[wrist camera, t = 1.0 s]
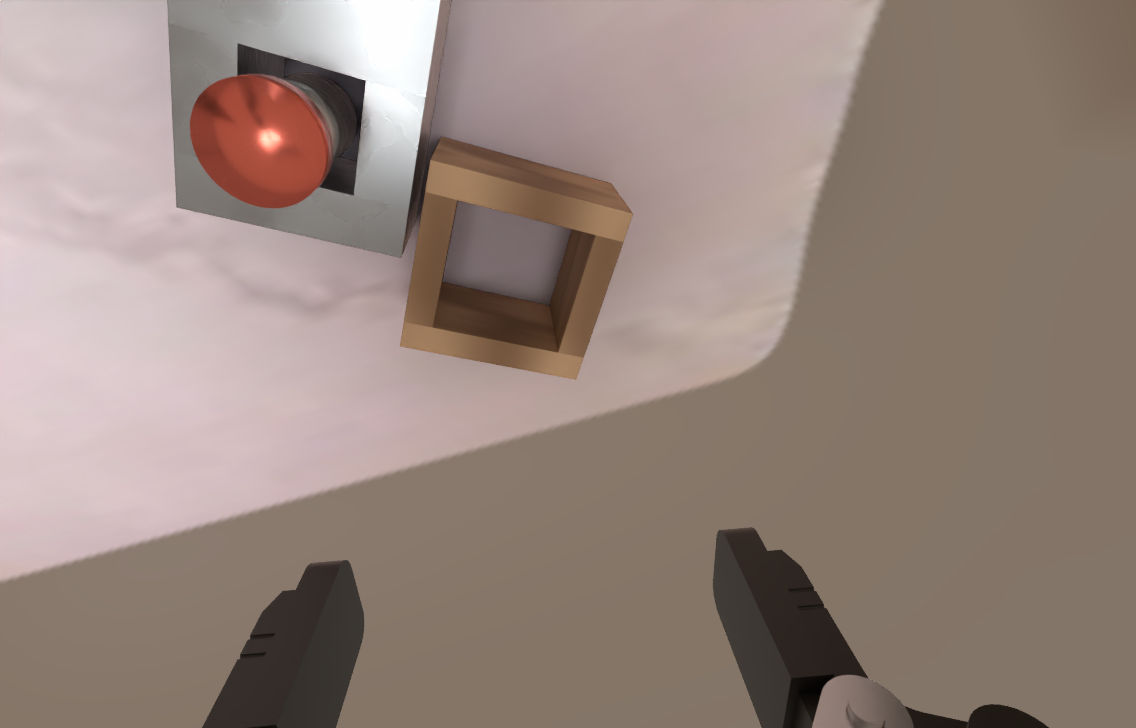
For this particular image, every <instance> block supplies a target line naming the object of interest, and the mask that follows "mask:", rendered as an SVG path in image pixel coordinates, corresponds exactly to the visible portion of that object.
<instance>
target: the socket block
mask: <svg viewBox="0 0 1136 728" xmlns="http://www.w3.org/2000/svg"><path fill="white" fill-rule="evenodd" d="M167 4H168V27H169V49H170V72H171V94H172V117H173V139H174V162H175V184H176V207H177V208H182V209H186V210H191V211H195V212H200V213H204V214H209V215H213V216H217V217H222V218H226V219H231V220H235V221H240V222H244V223H249V224H253V225H257V226H262V227H266V228H271V229H275V230H280V231H284V232H289V233H293V234H298V235H302V236H306V237H311V238H315V239H320V240H324V241H329V242H333V243H338V244H342V245H346V246H351V247H355V248H360V249H364V250H369V251H373V252H378V253H382V254H387V255H391V256H395V257H400V258H401V257H402V254H403V252H404V249H405V247H406V244H407V242H408V239H409V237H410V234H411V232H412V229H413V227H414V225H415V222H416V218H417V212H418V206H419V199H420V193H421V187H422V181H423V174H424V168H425V162H426V156H427V149H428V143H429V137H430V131H431V124H432V118H433V112H434V106H435V100H436V93H437V87H438V81H439V75H440V68H441V62H442V56H443V50H444V43H445V37H446V31H447V25H448V18H449V12H450V6H451V0H167ZM285 57H287V58H290V59H294V60H297V61H300V62H304V63H307V64H311V65H314V66H318V67H321V68H324V69H328V70H331V71H335V72H338V73H342V74H345V75H348V76H352V77H355V78H359V79H362V80H366V84H365V93H364V103H363V113H362V122H361V132H360V141H359V151H358V160H357V161H353V160H349V159H345V158H342V157H337V158H336V159H335V160H333V161H332V165H331V168H330V171H329V173H328V175H327V177H326V179H325V180H324V182H323V183H322V184H321V185H320V186H319V187H318V188H317V189H316V190H315V191H314V192H313V193H312V194H311V195H310V196H308V197H307V198H306V199H304V200H303V201H301V202H299V203H297V204H295V205H292V206H289V207H284V208H263V207H258V206H254V205H251V204H248V203H245V202H243V201H241V200H239V199H237V198H235V197H233V196H232V195H230V194H229V193H227V192H226V191H224V190H223V189H222V188H221V187H220V186H218V185H217V184H216V183H215V182H214V181H213V180H212V179H211V178H210V176H209V175H208V174H207V173H206V171H205V170H204V168H203V167H202V165H201V164H200V162H199V160H198V158H197V156H196V154H195V151H194V148H193V145H192V141H191V136H190V117H191V112H192V109H193V106H194V104H195V102H196V100H197V98H198V97H199V96H200V94H201V93H202V92H203V91H204V90H205V89H206V88H207V87H209V86H210V85H211V84H213V83H215V82H217V81H219V80H222V79H224V78H229V77H234V76H239V75H244V74H253V73H257V74H266V75H271V76H274V77H277V78H281V77H284V75H285Z"/></svg>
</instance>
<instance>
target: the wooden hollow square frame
mask: <svg viewBox="0 0 1136 728" xmlns="http://www.w3.org/2000/svg"><path fill="white" fill-rule="evenodd" d="M458 200H459V201H463V202H467V203H471V204H475V205H479V206H483V207H487V208H491V209H495V210H499V211H503V212H507V213H511V214H514V215H518V216H522V217H526V218H530V219H534V220H538V221H542V222H546V223H550V224H554V225H558V226H562V227H566V228H570V229H572V231H571V234H570V238H569V241H568V244H567V248H566V251H565V254H564V258H563V261H562V265H561V268H560V271H559V275H558V278H557V281H556V285H555V288H554V292H553V295H552V298H551V302H550V305H549V306H548V305H544V304H539V303H535V302H530V301H526V300H521V299H516V298H512V297H507V296H503V295H498V294H493V293H489V292H484V291H480V290H475V289H471V288H466V287H461V286H457V285H452V284H448V283H443V282H442V279H443V274H444V269H445V264H446V259H447V254H448V248H449V243H450V238H451V233H452V228H453V222H454V217H455V212H456V207H457V202H458ZM632 216H633V213H632V212H631V210H630V209H629V207H628V206H627V205H626V203H625V202H624V201H623V199H622V198H621V196H620V195H619V194H618V192H617V191H616V189H615V188H614V187H613V185H612V184H611V183H607V182H603V181H600V180H596V179H593V178H589V177H585V176H582V175H578V174H575V173H571V172H567V171H564V170H560V169H557V168H553V167H549V166H546V165H542V164H539V163H535V162H531V161H528V160H524V159H521V158H517V157H513V156H510V155H506V154H503V153H499V152H495V151H492V150H488V149H485V148H481V147H477V146H474V145H470V144H467V143H463V142H459V141H456V140H452V139H449V138H445V137H441V139H440V141H439V143H438V145H437V147H436V149H435V151H434V153H433V156H432V158H431V160H430V166H429V172H428V178H427V184H426V190H425V196H424V202H423V209H422V215H421V221H420V227H419V233H418V239H417V245H416V251H415V257H414V263H413V269H412V276H411V282H410V288H409V294H408V300H407V306H406V312H405V318H404V324H403V330H402V336H401V343H400V346H401V347H406V348H412V349H417V350H422V351H428V352H433V353H438V354H443V355H449V356H454V357H459V358H465V359H470V360H475V361H480V362H486V363H491V364H496V365H502V366H507V367H512V368H517V369H523V370H528V371H533V372H539V373H544V374H549V375H554V376H560V377H565V378H570V379H576V378H577V375H578V373H579V370H580V367H581V364H582V361H583V358H584V355H585V352H586V349H587V346H588V343H589V341H590V338H591V335H592V332H593V329H594V326H595V323H596V320H597V317H598V314H599V312H600V309H601V306H602V303H603V300H604V297H605V294H606V291H607V288H608V285H609V283H610V280H611V277H612V274H613V271H614V268H615V265H616V262H617V259H618V256H619V253H620V251H621V248H622V245H623V242H624V239H625V236H626V233H627V230H628V227H629V224H630V222H631V219H632Z"/></svg>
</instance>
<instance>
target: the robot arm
mask: <svg viewBox="0 0 1136 728" xmlns="http://www.w3.org/2000/svg"><path fill="white" fill-rule="evenodd" d="M713 591H714V598H715V603H716V607H717V611H718V614H719V616H720V619H721V621H722V624H723V627H724V629H725V632H726V635H727V637H728V640H729V642H730V645H731V648H732V650H733V653H734V656H735V658H736V661H737V664H738V666H739V669H740V672H741V674H742V677H743V680H744V682H745V685H746V687H747V690H748V693H749V695H750V698H751V701H752V703H753V706H754V708H755V711H756V714H757V716H758V719H759V722H760V724H761V727H762V728H1049V727H1047V726H1046V725H1045V724H1043V723H1042V722H1040V721H1039V720H1037V719H1036V718H1034V717H1032V716H1030V715H1028V714H1027V713H1024V712H1022V711H1020V710H1018V709H1015V708H1012V707H1008V706H1003V705H994V704H990V705H984V706H981V707H979V708H977V709H976V710H974V711H973V713H972V714H971V715H970V718H969V721H968V722H965V721H960V720H956V719H951V718H946V717H942V716H937V715H932V714H928V713H923V712H919V711H916V710H913V709H911V708H908V707H906V706H904V705H903V704H902V702H901V701H900V700H899V699H898V698H897V697H896V696H895V695H894V694H893V693H892V692H891V691H889V690H888V689H887V688H885V687H884V686H882V685H880V684H879V683H877V682H875V681H873V680H870V679H869V678H868V677H867V675H866V674H865V672H864V671H863V669H862V667H861V666H860V664H859V662H858V661H857V659H856V658H855V656H854V654H853V652H852V651H851V649H850V647H849V646H848V644H847V642H846V641H845V639H844V637H843V636H842V634H841V633H840V631H839V629H838V628H837V625H836V624H835V622H834V620H833V619H832V617H831V615H830V614H829V612H828V610H827V609H826V608H824V604H823V602H822V600H821V599H820V597H819V595H818V594H817V592H816V591H814V587H813V585H812V584H811V582H810V580H809V579H808V577H807V575H806V574H805V572H804V570H803V569H802V567H801V566H800V565H799V564H797V563H796V562H795V561H794V560H792V558H790V557H789V556H788V555H787V554H786V553H785V552H783V551H782V550H775V551H767V550H766V548H765V546H764V544H763V542H762V540H761V538H760V537H759V535H758V533H757V531H756V530H755V529H754V528H752V527H751V528H740V529H728V530H719V531H718V533H717V538H716V551H715V564H714V577H713ZM363 633H364V613H363V609H362V605H361V601H360V597H359V594H358V590H357V586H356V582H355V579H354V575H353V571H352V568H351V565H350V563H349V561H347V560H342V561H331V562H330V561H329V562H317V563H311V564H309V565H308V566H307V568H306V570H305V572H304V574H303V576H302V578H301V580H300V582H299V584H298V586H297V588H296V590H289V591H282V593H280V594H279V596H278V597H277V598H276V599H275V600H274V601H273V602H272V603H271V604H270V605H269V606H268V607H267V608H266V609H265V610H264V611H263V612H262V614H261V616H260V617H259V619H258V621H257V623H256V625H255V627H254V629H253V631H252V633H251V635H250V640H248V641H247V642H246V644H245V646H244V648H243V650H242V652H241V654H240V659H239V660H237V662H236V664H235V666H234V667H233V669H232V671H231V673H230V675H229V677H228V679H227V681H226V683H225V685H224V687H223V689H222V691H221V693H220V694H219V696H218V698H217V700H216V702H215V704H214V706H213V708H212V710H211V712H210V714H209V716H208V717H207V720H206V721H205V723H204V725H203V727H202V728H336V725H337V722H338V719H339V716H340V712H341V709H342V705H343V702H344V699H345V696H346V693H347V689H348V686H349V683H350V679H351V676H352V673H353V669H354V666H355V663H356V659H357V656H358V653H359V650H360V646H361V643H362V639H363Z"/></svg>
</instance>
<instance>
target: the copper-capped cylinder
mask: <svg viewBox="0 0 1136 728" xmlns="http://www.w3.org/2000/svg"><path fill="white" fill-rule="evenodd" d="M356 129H357V119H356V114H355V110H354V107H353V105H352V102H351V100H350V99H349V97H348V96H347V94H346V93H345V92H344V90H343V89H342V88H341V87H340V86H339V85H337V84H336V83H335V82H334V81H332V80H330V79H329V78H327V77H325V76H322V75H320V74H316V73H310V72H302V73H297V74H293V75H289V76H285V77H281V78H277V77H274V76H271V75H266V74H257V73H253V74H244V75H239V76H234V77H229V78H224V79H222V80H219V81H217V82H215V83H213V84H211V85H210V86H209V87H207V88H206V89H205V90H204V91H203V92H202V93H201V94H200V96H199V97H198V98H197V100H196V102H195V104H194V106H193V109H192V112H191V117H190V136H191V141H192V145H193V148H194V151H195V154H196V156H197V158H198V160H199V162H200V164H201V165H202V167H203V168H204V170H205V171H206V173H207V174H208V175H209V176H210V178H211V179H212V180H213V181H214V182H215V183H216V184H217V185H218V186H220V187H221V188H222V189H223V190H224V191H226V192H227V193H229V194H230V195H232V196H233V197H235V198H237V199H239V200H241V201H243V202H245V203H248V204H251V205H254V206H258V207H263V208H284V207H289V206H292V205H295V204H297V203H299V202H301V201H303V200H304V199H306V198H307V197H308V196H310V195H311V194H312V193H313V192H314V191H315V190H316V189H317V188H318V187H319V186H320V185H321V184H322V183H323V182H324V180H325V179H326V177H327V175H328V173H329V171H330V168H331V165H332V161H333V160H335V159H336V158H337V157H338V156H339V155H340V154H342V153H343V152H344V151H345V150H346V149H347V148H348V147H349V146H350V145H351V143H352V141H353V139H354V137H355V134H356Z"/></svg>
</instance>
